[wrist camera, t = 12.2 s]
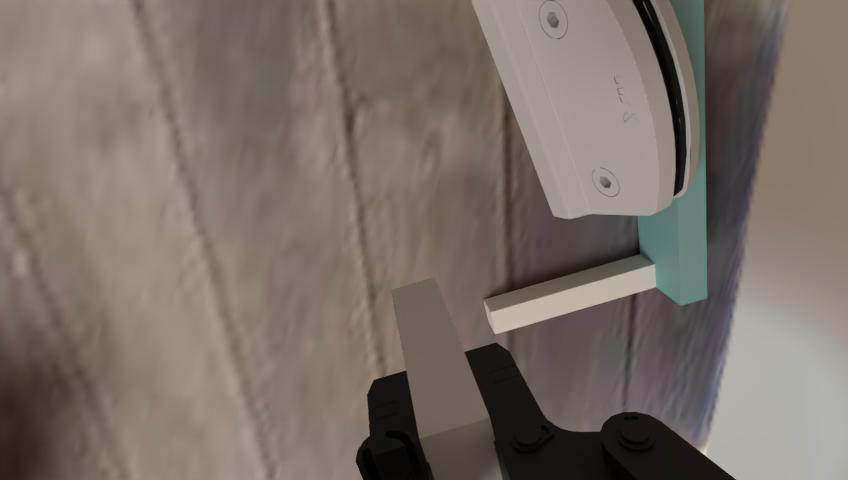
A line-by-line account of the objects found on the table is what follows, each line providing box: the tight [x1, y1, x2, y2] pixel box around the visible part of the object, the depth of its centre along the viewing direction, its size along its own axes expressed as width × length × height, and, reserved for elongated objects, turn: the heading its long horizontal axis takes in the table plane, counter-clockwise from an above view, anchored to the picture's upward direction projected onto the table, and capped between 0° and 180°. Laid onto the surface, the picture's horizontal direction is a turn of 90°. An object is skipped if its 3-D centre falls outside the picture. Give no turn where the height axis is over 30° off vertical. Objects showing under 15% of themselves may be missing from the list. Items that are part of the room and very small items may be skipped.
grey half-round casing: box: [472, 0, 700, 219], centre depth 29 cm, size 17×5×10 cm, turn 25°
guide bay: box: [484, 0, 707, 334], centre depth 32 cm, size 26×15×5 cm, turn 13°
